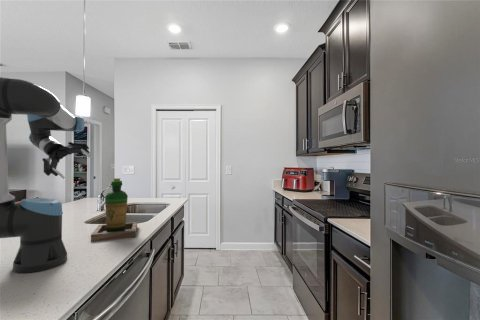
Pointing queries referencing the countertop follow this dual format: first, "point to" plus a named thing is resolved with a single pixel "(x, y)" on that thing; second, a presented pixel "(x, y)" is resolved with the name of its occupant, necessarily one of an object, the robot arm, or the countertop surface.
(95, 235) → the walnut frame
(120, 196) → the bottle
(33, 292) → the countertop surface
